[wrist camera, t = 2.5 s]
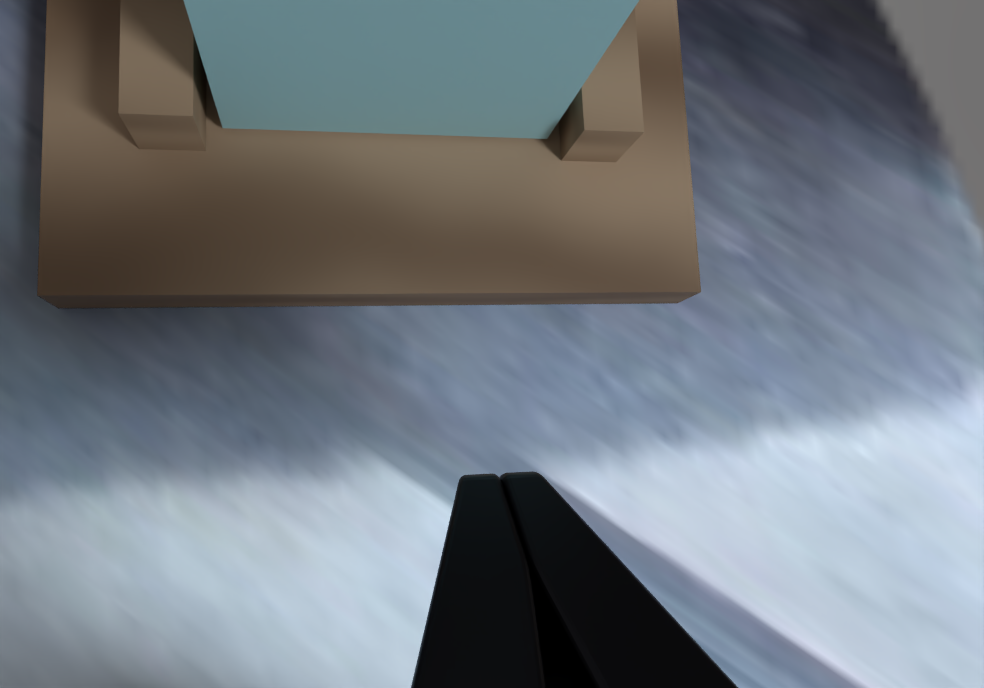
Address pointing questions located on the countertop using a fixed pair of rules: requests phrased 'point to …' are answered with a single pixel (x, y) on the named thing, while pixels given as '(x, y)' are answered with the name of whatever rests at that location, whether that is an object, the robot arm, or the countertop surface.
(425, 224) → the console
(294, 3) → the paddle button
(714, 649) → the countertop surface
